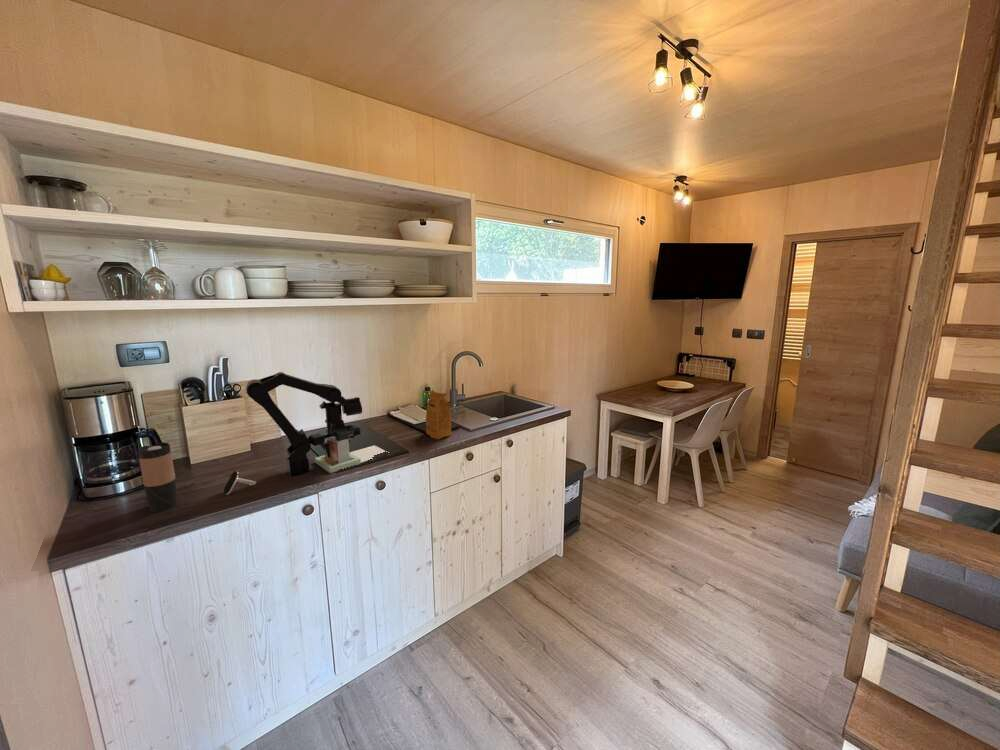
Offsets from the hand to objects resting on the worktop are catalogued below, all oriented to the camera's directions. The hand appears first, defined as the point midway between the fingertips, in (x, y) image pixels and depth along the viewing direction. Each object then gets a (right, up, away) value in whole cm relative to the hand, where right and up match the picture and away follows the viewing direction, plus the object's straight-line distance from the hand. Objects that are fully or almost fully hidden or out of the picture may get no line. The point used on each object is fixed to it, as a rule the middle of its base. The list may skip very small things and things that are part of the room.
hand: (337, 455), depth 158 cm
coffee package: (+35, +3, +34) cm, 49 cm away
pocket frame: (0, -3, +1) cm, 4 cm away
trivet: (+9, -2, +10) cm, 14 cm away
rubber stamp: (-26, -10, -22) cm, 35 cm away
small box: (0, -4, +1) cm, 4 cm away
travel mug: (-42, -10, -32) cm, 53 cm away
